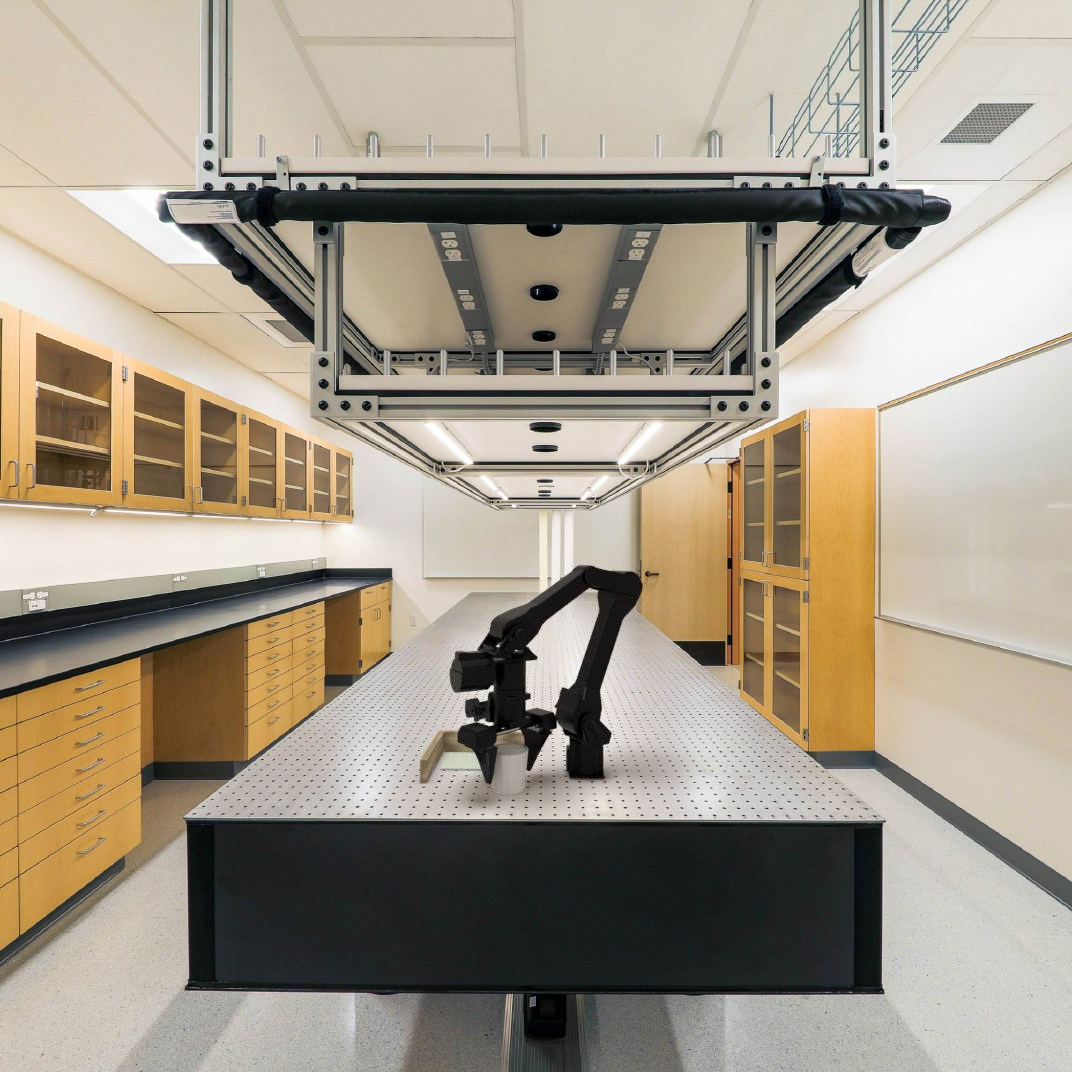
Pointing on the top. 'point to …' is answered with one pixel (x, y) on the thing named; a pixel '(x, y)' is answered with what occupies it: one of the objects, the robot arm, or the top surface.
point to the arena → (454, 749)
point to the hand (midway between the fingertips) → (508, 776)
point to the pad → (461, 762)
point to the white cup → (510, 769)
